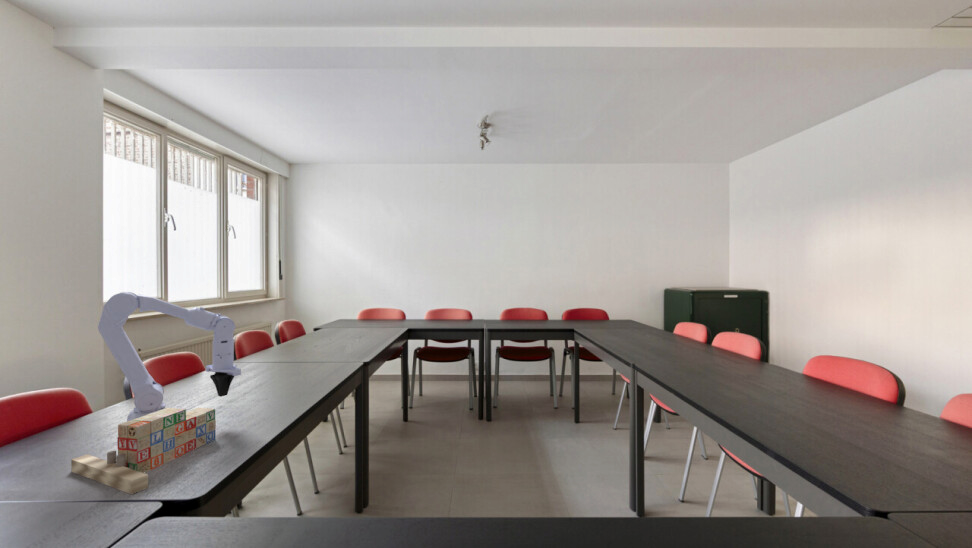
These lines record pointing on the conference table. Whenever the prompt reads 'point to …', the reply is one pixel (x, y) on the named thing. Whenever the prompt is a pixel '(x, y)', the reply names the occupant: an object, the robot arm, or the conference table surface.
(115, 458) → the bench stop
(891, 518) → the conference table surface
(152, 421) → the stack of blocks
